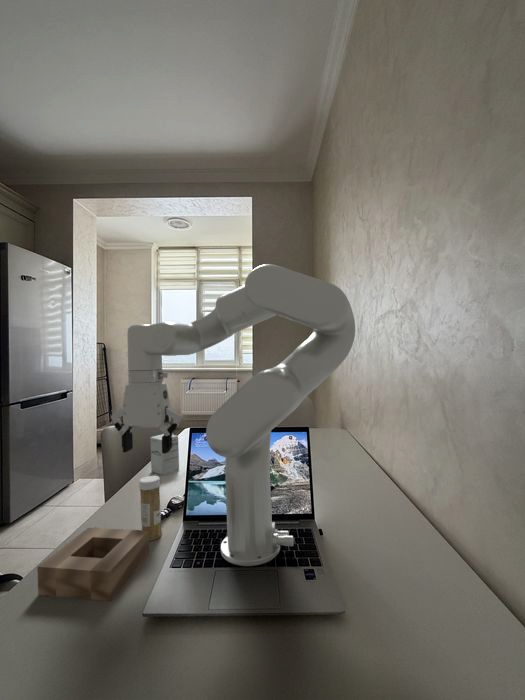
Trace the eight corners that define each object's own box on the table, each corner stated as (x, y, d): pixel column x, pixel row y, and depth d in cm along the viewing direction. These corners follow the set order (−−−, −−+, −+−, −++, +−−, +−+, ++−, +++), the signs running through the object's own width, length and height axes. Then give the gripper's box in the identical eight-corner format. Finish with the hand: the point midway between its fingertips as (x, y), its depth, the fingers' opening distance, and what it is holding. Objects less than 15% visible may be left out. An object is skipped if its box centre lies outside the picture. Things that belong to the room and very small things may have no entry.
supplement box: (150, 471, 128) (149, 436, 128) (168, 466, 133) (166, 432, 133) (162, 475, 123) (161, 439, 123) (180, 470, 128) (178, 435, 128)
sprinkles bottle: (164, 537, 81) (162, 478, 81) (144, 543, 79) (142, 483, 79) (158, 529, 85) (156, 473, 85) (139, 535, 82) (137, 477, 83)
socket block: (149, 554, 74) (148, 530, 74) (110, 601, 61) (109, 571, 61) (89, 550, 77) (88, 527, 77) (38, 594, 63) (37, 566, 63)
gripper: (186, 376, 84) (188, 447, 84) (120, 376, 87) (121, 446, 87) (174, 378, 77) (175, 457, 77) (101, 379, 80) (103, 455, 80)
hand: (147, 451), depth 82 cm, fingers open, 9 cm apart
